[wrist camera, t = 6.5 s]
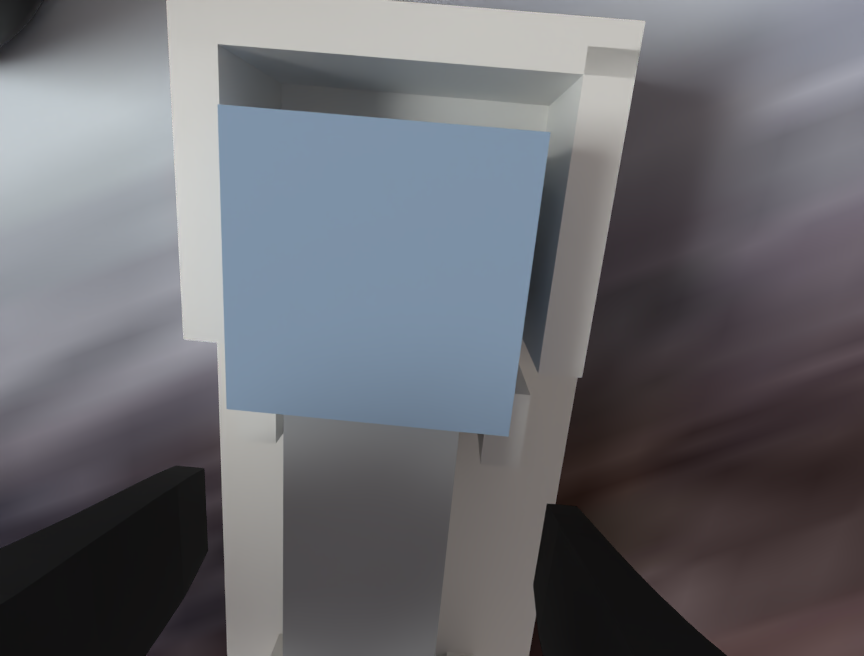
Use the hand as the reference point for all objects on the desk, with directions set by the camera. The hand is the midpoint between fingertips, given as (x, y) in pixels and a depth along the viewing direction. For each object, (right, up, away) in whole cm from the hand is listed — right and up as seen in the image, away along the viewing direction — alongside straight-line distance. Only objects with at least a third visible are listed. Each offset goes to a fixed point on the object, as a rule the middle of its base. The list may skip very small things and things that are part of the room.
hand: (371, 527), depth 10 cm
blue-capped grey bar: (0, +1, +3) cm, 3 cm away
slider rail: (0, +1, +3) cm, 3 cm away
